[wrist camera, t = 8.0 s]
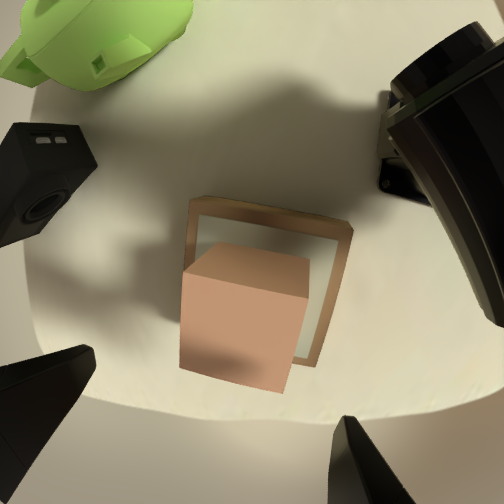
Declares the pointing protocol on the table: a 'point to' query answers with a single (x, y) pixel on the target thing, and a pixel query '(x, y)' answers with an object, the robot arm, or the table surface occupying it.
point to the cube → (243, 315)
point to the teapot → (90, 40)
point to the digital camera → (39, 175)
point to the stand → (281, 241)
